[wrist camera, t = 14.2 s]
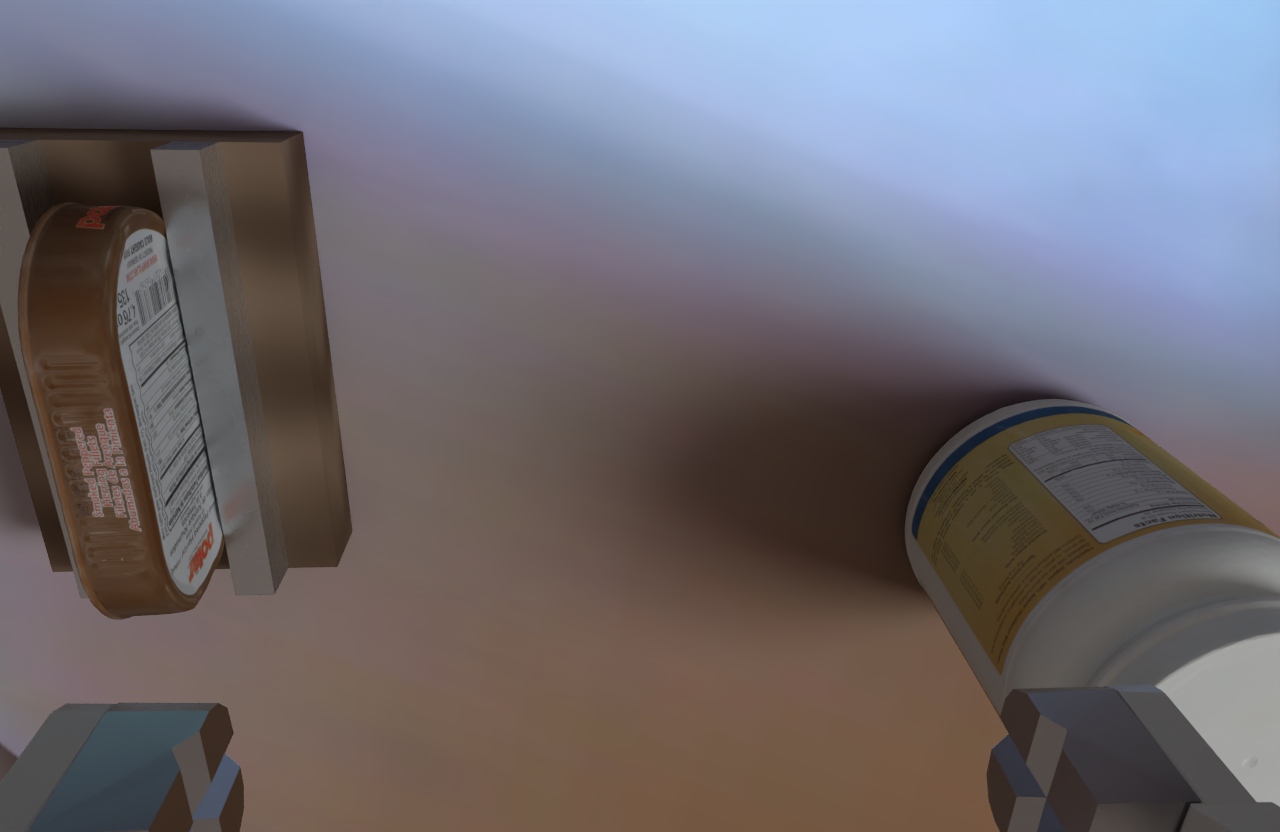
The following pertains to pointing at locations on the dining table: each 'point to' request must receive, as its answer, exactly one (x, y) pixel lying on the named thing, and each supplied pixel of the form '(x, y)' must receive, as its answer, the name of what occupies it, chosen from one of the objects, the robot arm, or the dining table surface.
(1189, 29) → the dining table surface
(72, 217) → the tin
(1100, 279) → the dining table surface
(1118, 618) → the supplement tub
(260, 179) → the dock
